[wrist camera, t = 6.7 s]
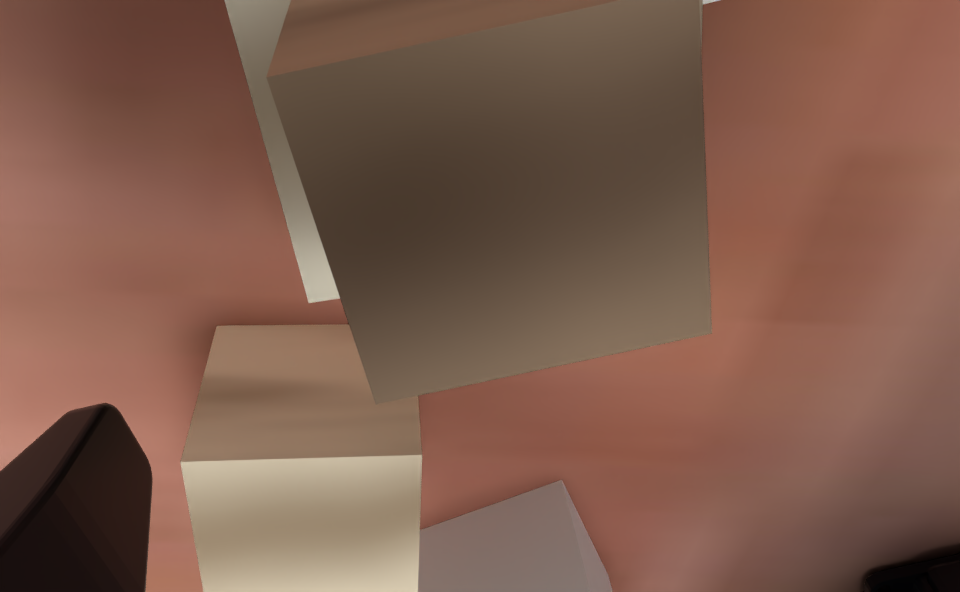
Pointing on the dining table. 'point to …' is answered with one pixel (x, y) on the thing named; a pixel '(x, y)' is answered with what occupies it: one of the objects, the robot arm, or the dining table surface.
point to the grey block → (513, 548)
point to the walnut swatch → (708, 1)
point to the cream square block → (284, 136)
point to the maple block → (301, 467)
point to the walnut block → (501, 178)
